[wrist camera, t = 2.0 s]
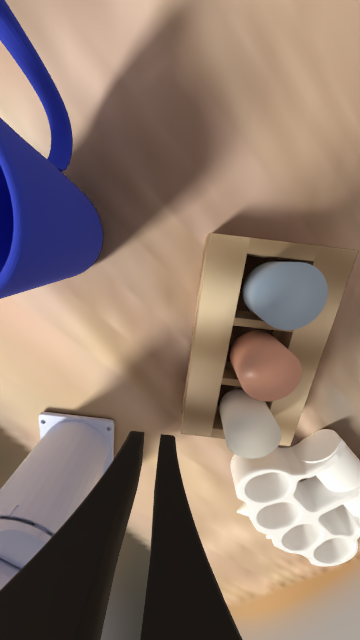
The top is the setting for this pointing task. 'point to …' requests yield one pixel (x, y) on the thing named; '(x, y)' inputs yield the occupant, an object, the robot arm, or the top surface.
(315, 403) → the top surface
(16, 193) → the mug
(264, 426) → the pale grey rounded piece
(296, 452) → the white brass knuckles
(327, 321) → the wooden compartment tray
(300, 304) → the pale blue rounded lump
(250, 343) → the pink egg
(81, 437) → the robot arm
